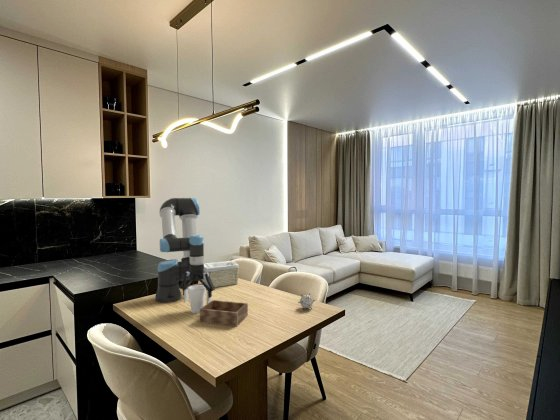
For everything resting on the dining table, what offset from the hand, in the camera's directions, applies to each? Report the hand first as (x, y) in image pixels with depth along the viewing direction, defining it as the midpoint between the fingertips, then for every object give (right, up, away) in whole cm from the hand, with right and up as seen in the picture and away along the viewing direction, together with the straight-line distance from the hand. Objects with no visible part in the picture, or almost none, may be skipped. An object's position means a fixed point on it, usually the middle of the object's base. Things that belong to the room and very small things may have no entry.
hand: (197, 302), depth 164 cm
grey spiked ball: (+60, -5, +4) cm, 60 cm away
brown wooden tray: (+17, -5, -10) cm, 20 cm away
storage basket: (+2, -3, +54) cm, 54 cm away
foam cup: (0, -5, +1) cm, 5 cm away
